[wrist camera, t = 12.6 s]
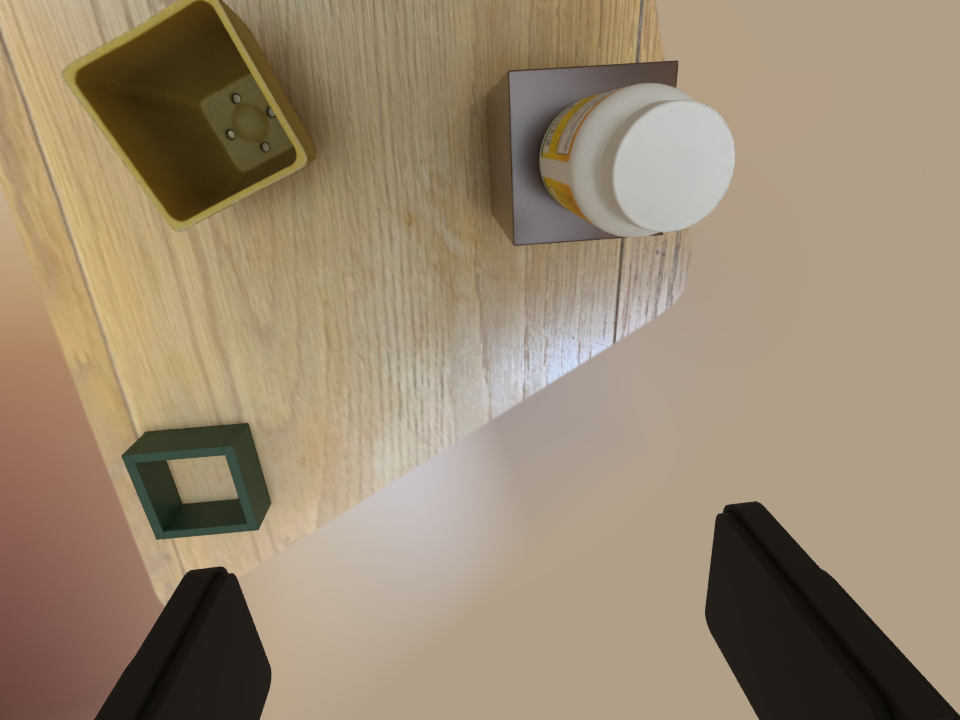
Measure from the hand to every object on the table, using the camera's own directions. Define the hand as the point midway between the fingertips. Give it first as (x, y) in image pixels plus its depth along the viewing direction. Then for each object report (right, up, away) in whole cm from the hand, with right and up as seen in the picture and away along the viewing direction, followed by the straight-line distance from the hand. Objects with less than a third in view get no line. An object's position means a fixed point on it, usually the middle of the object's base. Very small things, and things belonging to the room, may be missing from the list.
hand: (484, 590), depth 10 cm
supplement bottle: (+5, +15, +15) cm, 22 cm away
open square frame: (-24, -5, +34) cm, 42 cm away
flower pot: (-15, +20, +24) cm, 35 cm away
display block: (+5, +19, +26) cm, 32 cm away
